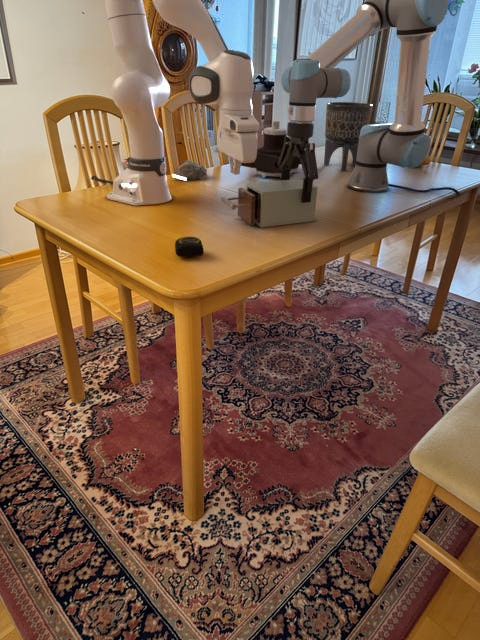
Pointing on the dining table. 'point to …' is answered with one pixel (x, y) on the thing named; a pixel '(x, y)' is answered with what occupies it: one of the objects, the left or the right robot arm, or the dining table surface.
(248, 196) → the drawer
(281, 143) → the mechanical component
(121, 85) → the left robot arm
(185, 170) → the rock
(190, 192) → the dining table surface
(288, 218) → the cabinet
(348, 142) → the planter
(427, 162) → the toy
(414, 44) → the right robot arm
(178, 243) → the tape measure
